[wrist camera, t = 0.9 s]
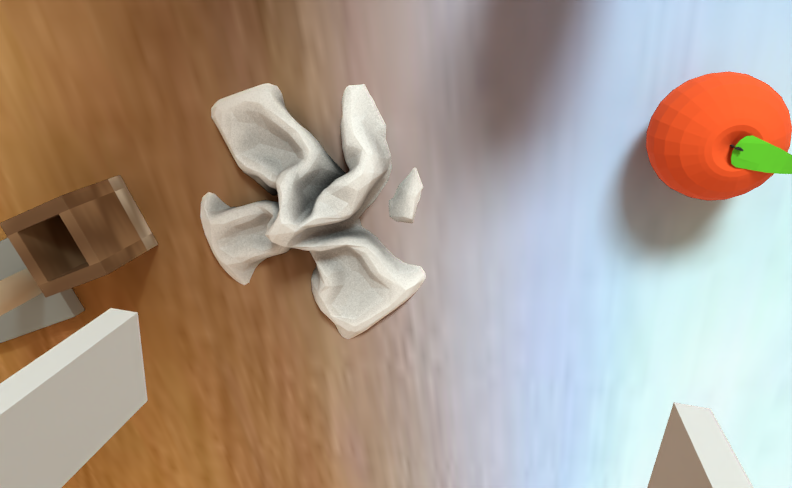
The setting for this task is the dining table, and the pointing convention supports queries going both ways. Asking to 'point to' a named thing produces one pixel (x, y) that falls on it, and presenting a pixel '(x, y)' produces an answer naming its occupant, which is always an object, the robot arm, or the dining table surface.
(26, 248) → the brown open cube
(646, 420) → the dining table surface
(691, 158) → the clementine
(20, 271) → the pin stand
